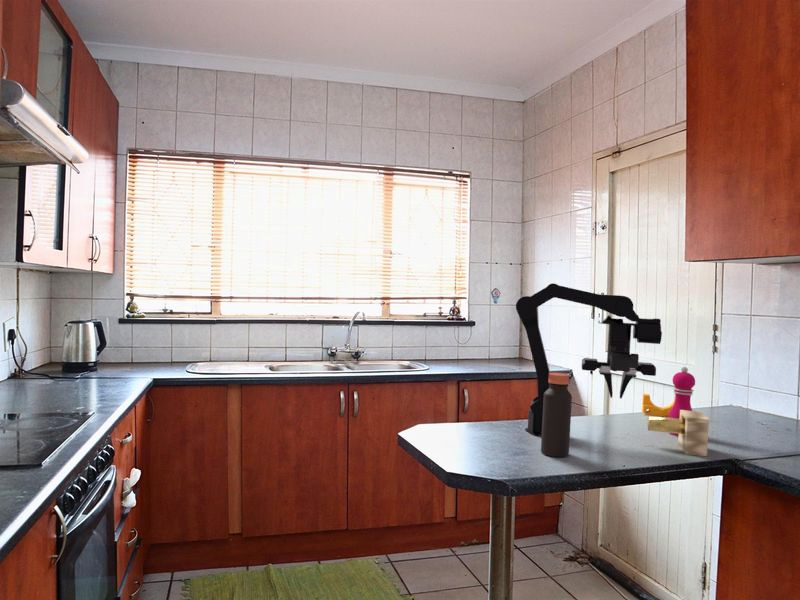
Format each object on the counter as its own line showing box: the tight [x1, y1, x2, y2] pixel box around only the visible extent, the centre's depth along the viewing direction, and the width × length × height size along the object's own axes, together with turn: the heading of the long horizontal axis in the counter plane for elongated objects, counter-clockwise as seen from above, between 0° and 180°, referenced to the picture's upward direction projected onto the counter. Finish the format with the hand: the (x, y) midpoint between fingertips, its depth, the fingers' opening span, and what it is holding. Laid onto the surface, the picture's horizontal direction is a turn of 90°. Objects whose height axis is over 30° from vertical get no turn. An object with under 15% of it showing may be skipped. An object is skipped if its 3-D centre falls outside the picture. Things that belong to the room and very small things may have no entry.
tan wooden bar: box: [646, 415, 685, 434], centre depth 154 cm, size 13×4×4 cm, turn 74°
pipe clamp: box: [641, 393, 675, 417], centre depth 195 cm, size 12×4×6 cm, turn 72°
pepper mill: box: [667, 366, 696, 437], centre depth 169 cm, size 7×7×20 cm
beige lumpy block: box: [677, 410, 710, 457], centre depth 153 cm, size 5×10×10 cm, turn 164°
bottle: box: [540, 372, 573, 458], centre depth 143 cm, size 7×7×20 cm
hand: (615, 397), depth 158 cm, fingers open, 2 cm apart
